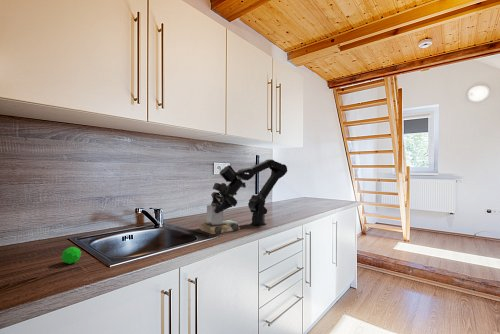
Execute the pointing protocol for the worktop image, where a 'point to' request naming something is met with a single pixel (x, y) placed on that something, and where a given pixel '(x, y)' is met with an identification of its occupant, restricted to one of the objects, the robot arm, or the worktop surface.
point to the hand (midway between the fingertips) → (212, 211)
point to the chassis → (220, 227)
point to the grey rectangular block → (214, 215)
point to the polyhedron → (71, 255)
